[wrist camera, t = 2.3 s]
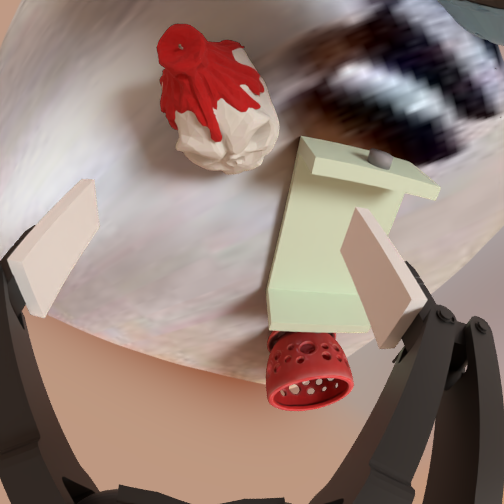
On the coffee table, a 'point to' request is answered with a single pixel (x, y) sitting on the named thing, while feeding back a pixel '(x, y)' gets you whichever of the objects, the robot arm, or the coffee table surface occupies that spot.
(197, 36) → the candle
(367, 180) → the holder
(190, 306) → the coffee table surface
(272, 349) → the plant pot
